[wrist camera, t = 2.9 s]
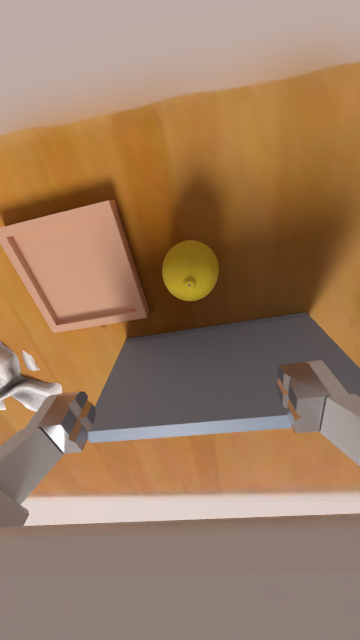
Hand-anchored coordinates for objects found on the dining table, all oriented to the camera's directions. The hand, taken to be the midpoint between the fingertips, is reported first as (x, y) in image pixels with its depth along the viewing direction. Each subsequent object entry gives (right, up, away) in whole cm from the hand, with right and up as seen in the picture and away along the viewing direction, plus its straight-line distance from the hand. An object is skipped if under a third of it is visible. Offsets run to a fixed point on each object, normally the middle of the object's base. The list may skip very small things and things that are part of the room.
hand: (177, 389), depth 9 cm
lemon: (+1, +10, +16) cm, 19 cm away
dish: (-12, +9, +17) cm, 22 cm away
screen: (+5, 0, +21) cm, 22 cm away
